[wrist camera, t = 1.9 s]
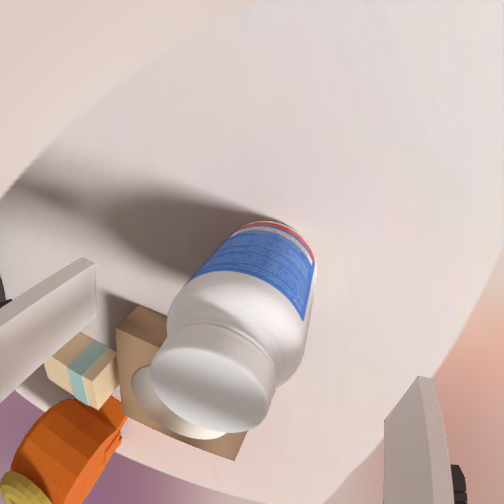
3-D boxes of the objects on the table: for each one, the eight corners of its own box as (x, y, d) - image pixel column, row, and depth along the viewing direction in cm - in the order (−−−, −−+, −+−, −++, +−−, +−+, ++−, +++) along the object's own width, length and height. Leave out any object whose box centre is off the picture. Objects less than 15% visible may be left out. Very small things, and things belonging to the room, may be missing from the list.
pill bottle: (213, 223, 18) (104, 317, 9) (311, 213, 16) (278, 320, 7) (233, 309, 20) (161, 432, 11) (321, 306, 18) (298, 450, 9)
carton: (72, 355, 27) (47, 379, 23) (67, 324, 25) (38, 348, 21) (121, 382, 26) (97, 411, 22) (118, 352, 24) (91, 382, 21)
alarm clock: (83, 367, 27) (-39, 502, 9) (134, 401, 27) (23, 557, 9) (81, 421, 33) (1, 524, 15) (121, 448, 32) (46, 559, 14)
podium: (139, 391, 26) (122, 414, 23) (138, 304, 21) (114, 328, 19) (244, 434, 24) (233, 461, 21) (275, 355, 20) (265, 388, 17)
